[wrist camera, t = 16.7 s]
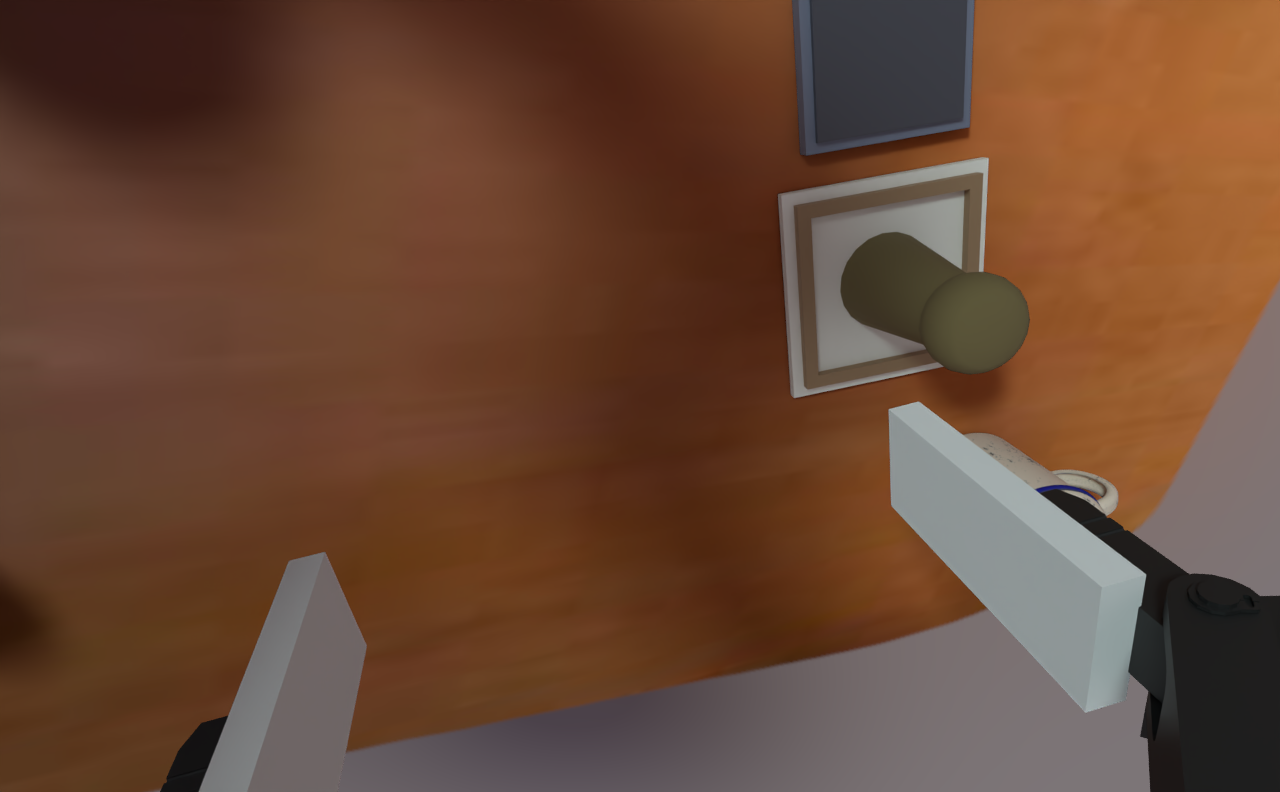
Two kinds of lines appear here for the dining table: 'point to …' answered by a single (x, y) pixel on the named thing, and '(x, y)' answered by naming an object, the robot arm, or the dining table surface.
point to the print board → (828, 236)
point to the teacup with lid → (1047, 473)
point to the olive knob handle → (935, 303)
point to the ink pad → (880, 70)
